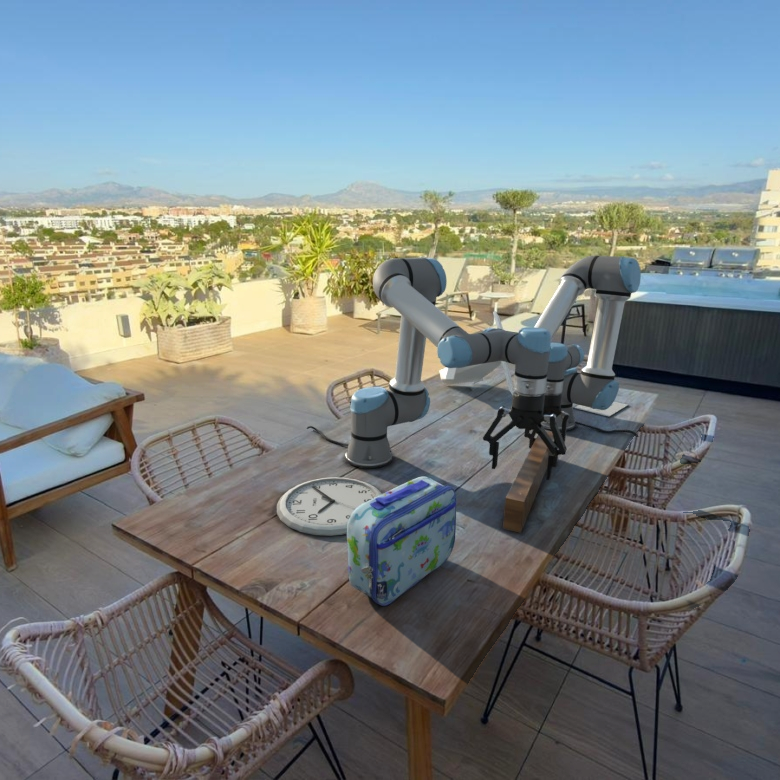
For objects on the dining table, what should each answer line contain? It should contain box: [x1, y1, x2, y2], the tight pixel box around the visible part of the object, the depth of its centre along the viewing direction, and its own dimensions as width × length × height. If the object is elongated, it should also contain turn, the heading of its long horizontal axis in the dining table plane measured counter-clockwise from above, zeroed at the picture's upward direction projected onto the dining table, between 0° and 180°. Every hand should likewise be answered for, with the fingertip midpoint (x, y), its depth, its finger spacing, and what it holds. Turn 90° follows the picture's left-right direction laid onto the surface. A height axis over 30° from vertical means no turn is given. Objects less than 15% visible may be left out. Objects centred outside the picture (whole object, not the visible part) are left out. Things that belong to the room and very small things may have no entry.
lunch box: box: [346, 475, 457, 607], centre depth 111 cm, size 26×11×21 cm, turn 134°
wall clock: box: [276, 476, 384, 537], centre depth 142 cm, size 30×2×30 cm
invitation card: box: [573, 401, 629, 418], centre depth 226 cm, size 21×1×15 cm
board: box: [502, 430, 554, 534], centre depth 153 cm, size 51×5×9 cm, turn 155°
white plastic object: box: [438, 310, 515, 396], centre depth 245 cm, size 37×45×31 cm
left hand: (520, 472), depth 132 cm, fingers open, 13 cm apart
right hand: (542, 459), depth 172 cm, fingers open, 5 cm apart
